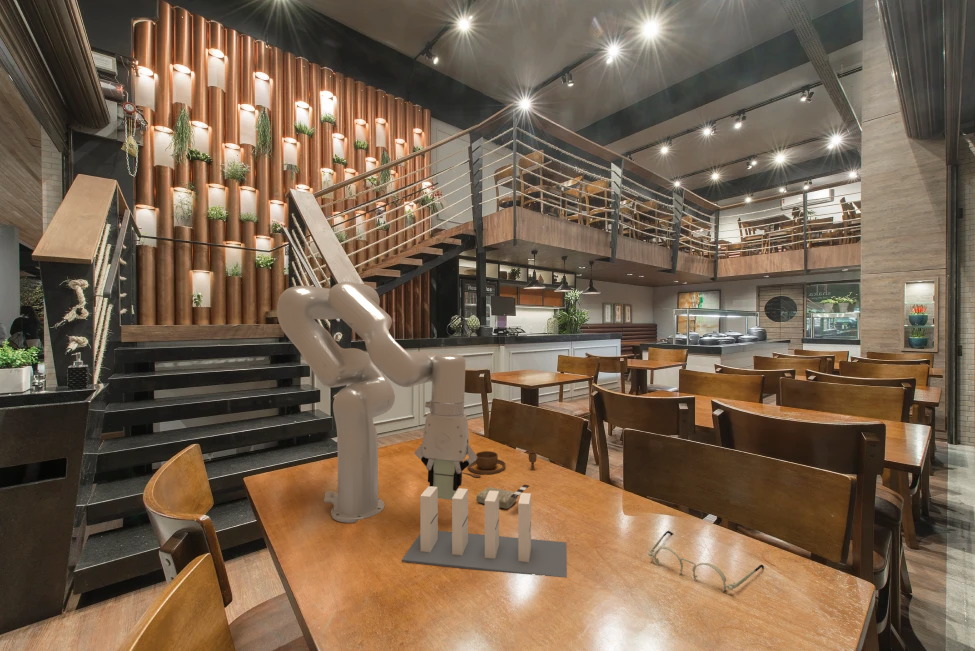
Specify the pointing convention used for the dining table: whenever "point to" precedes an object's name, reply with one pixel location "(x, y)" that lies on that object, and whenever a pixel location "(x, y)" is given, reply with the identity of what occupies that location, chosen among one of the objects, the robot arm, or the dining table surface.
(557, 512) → the dining table surface
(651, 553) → the eyeglasses
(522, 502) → the domino
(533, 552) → the mat
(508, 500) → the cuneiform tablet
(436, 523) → the domino
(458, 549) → the domino
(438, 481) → the end domino
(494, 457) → the place setting
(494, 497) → the domino
